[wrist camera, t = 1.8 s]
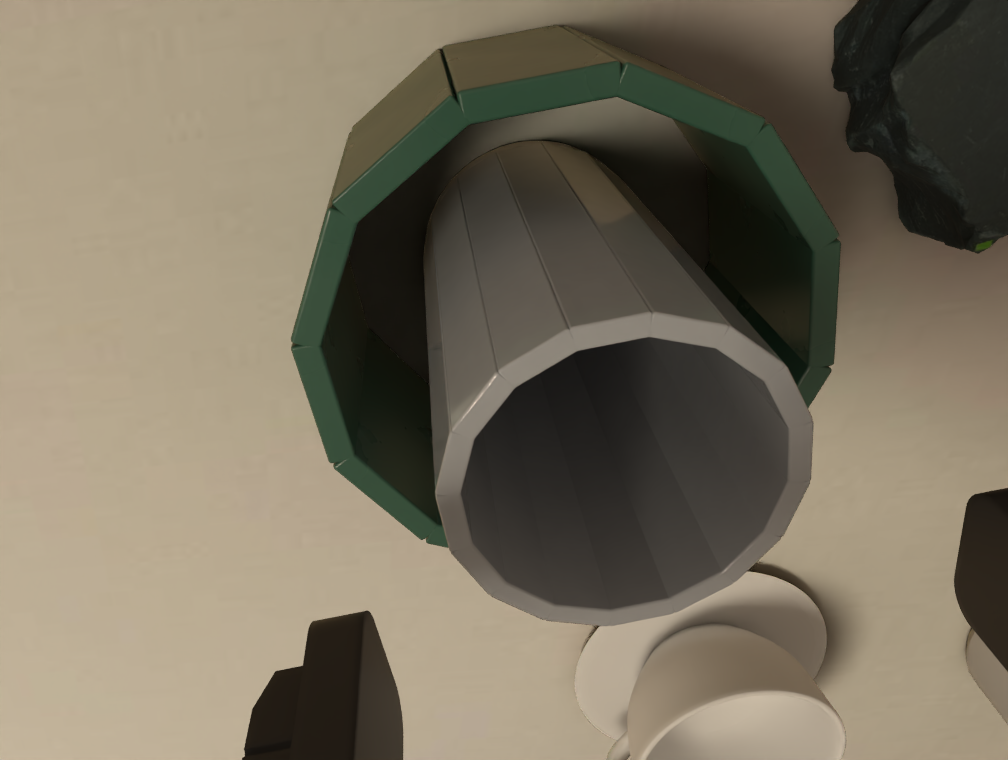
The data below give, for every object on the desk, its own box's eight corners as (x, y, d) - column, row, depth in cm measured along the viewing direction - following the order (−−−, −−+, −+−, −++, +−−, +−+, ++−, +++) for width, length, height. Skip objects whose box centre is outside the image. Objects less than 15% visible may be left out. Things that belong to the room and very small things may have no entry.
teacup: (743, 516, 28) (801, 616, 24) (861, 657, 32) (927, 761, 28) (520, 659, 30) (538, 772, 26) (659, 771, 34) (692, 883, 30)
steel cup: (403, 163, 20) (399, 361, 11) (629, 120, 21) (821, 279, 11) (447, 362, 23) (475, 654, 14) (645, 324, 24) (807, 588, 14)
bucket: (273, 77, 19) (218, 136, 14) (725, -8, 19) (855, 16, 14) (382, 450, 25) (375, 601, 19) (731, 381, 25) (826, 512, 19)
